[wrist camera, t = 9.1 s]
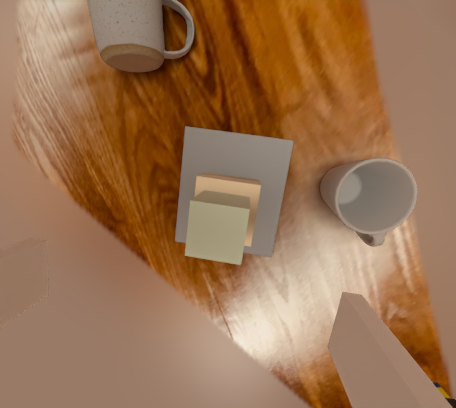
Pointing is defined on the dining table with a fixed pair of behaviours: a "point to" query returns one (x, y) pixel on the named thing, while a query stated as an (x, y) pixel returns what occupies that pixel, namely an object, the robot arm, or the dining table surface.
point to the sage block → (217, 226)
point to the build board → (239, 167)
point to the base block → (233, 187)
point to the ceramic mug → (135, 32)
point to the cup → (370, 196)
